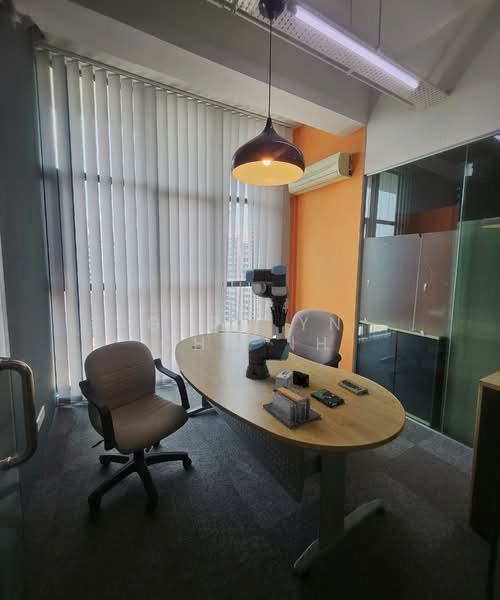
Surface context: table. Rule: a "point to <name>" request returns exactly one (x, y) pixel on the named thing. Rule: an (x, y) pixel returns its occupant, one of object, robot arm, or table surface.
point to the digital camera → (300, 379)
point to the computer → (353, 387)
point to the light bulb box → (284, 380)
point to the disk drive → (327, 398)
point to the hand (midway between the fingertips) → (278, 338)
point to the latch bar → (291, 395)
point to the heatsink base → (291, 422)
